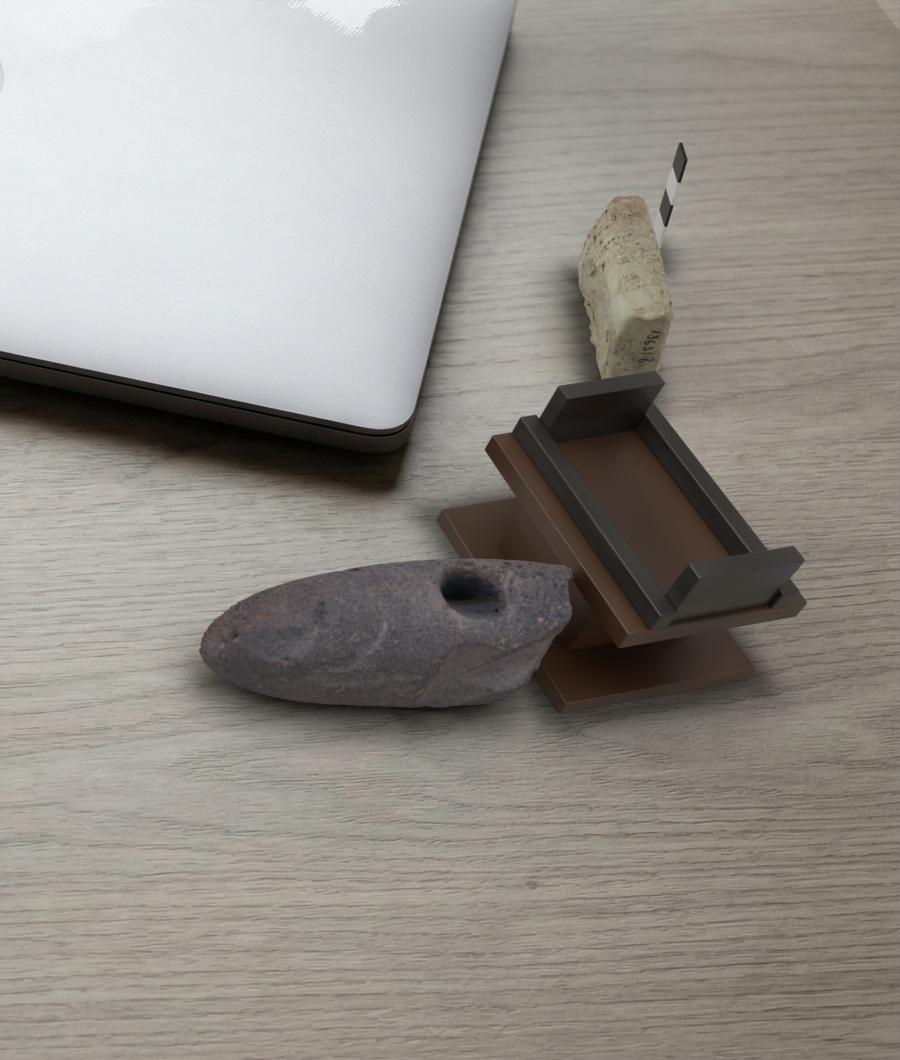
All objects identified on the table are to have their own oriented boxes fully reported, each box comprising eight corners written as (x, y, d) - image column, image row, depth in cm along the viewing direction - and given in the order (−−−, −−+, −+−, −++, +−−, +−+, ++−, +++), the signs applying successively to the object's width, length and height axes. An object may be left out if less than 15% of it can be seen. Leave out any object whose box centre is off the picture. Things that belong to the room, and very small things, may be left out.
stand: (609, 493, 81) (699, 359, 74) (746, 682, 74) (860, 555, 67) (433, 522, 80) (508, 389, 72) (556, 717, 73) (651, 591, 66)
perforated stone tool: (194, 729, 72) (237, 634, 67) (172, 628, 76) (212, 531, 70) (548, 732, 72) (620, 638, 67) (511, 631, 76) (576, 534, 70)
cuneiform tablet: (649, 250, 91) (693, 411, 84) (557, 253, 92) (592, 411, 85) (682, 142, 86) (732, 302, 78) (583, 146, 87) (623, 305, 80)
